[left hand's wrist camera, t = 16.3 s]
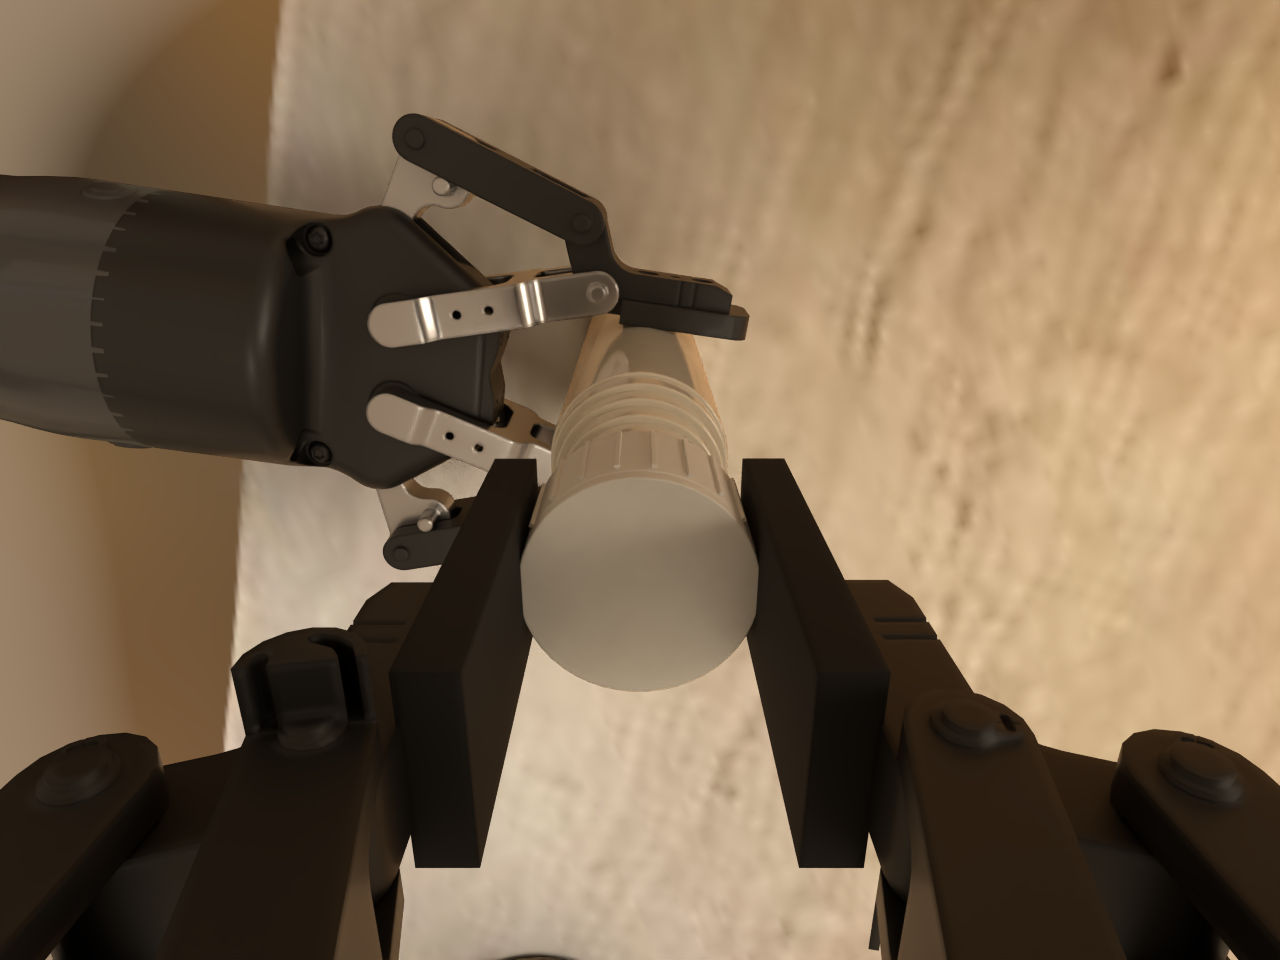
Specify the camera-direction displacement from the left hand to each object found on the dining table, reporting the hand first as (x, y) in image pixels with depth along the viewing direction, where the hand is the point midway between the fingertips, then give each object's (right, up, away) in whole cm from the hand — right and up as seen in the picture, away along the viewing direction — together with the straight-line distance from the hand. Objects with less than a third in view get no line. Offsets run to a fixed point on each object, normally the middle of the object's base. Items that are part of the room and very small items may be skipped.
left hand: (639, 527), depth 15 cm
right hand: (+3, +3, +10) cm, 11 cm away
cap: (0, -1, -2) cm, 2 cm away
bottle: (0, +6, +16) cm, 17 cm away
